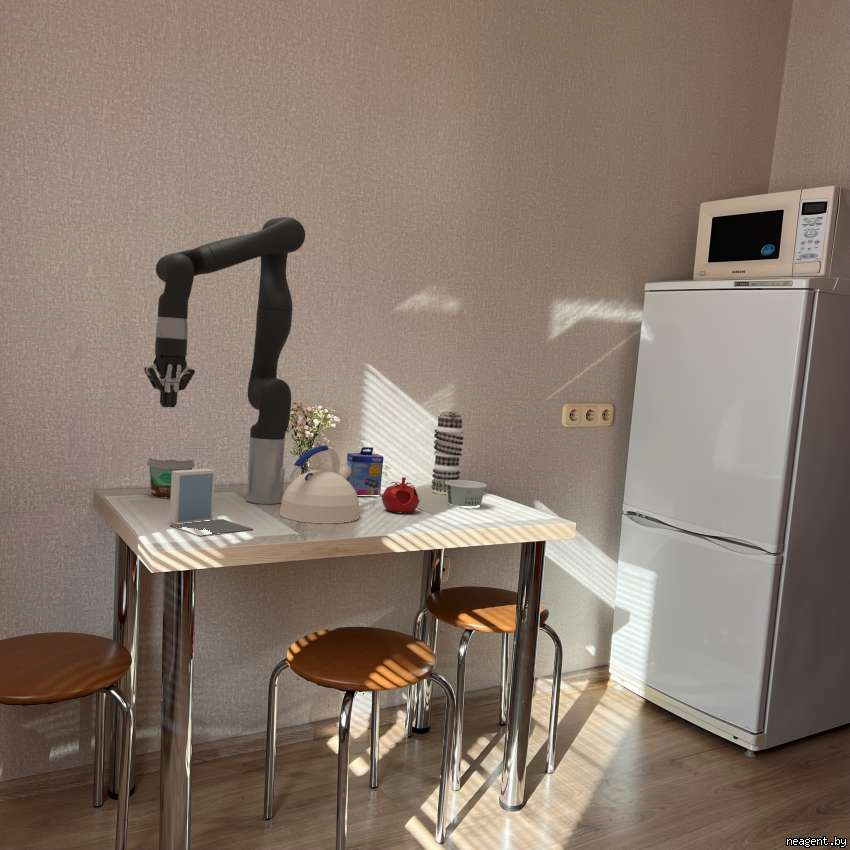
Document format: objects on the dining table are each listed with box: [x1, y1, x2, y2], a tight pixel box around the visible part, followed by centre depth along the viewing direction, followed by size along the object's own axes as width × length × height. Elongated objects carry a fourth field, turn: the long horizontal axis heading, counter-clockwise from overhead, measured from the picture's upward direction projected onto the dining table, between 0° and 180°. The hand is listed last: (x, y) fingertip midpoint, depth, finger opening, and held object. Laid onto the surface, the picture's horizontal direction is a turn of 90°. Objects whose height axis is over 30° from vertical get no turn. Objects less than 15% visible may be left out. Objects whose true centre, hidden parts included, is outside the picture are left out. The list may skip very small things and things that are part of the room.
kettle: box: [279, 444, 360, 525], centre depth 223 cm, size 20×21×18 cm
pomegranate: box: [381, 476, 420, 514], centre depth 237 cm, size 10×10×9 cm
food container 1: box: [146, 457, 195, 499], centre depth 233 cm, size 12×6×10 cm, turn 112°
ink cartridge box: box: [346, 446, 385, 496], centre depth 257 cm, size 10×6×14 cm, turn 114°
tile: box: [168, 468, 216, 524], centre depth 205 cm, size 3×10×12 cm, turn 137°
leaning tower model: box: [431, 411, 465, 492], centre depth 272 cm, size 9×9×25 cm
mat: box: [169, 518, 254, 534], centre depth 200 cm, size 12×14×1 cm
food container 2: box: [445, 479, 488, 506], centre depth 253 cm, size 12×12×6 cm
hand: (168, 406), depth 218 cm, fingers closed
